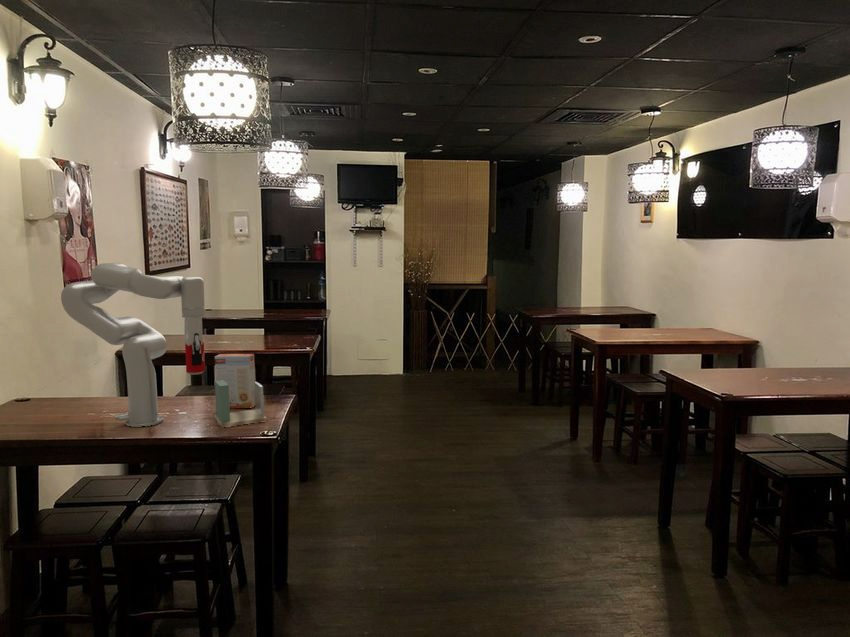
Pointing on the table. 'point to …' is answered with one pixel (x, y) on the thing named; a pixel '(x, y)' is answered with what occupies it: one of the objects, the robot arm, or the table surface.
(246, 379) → the cracker box
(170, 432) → the table surface
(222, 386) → the grey green slab
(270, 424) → the table surface
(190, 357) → the beverage can
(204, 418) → the table surface
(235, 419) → the shelf board
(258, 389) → the grey metal plate
